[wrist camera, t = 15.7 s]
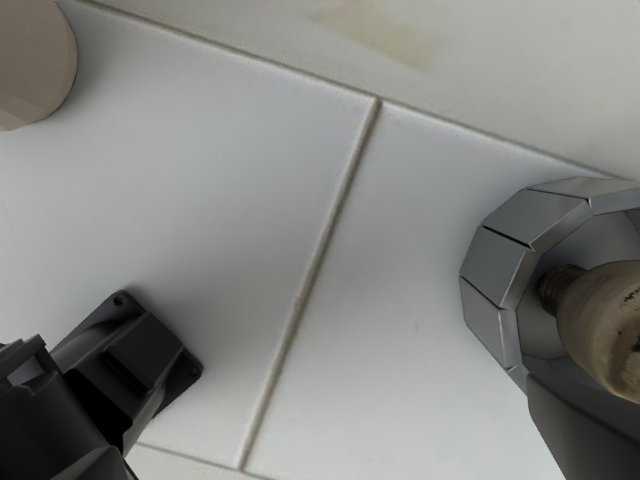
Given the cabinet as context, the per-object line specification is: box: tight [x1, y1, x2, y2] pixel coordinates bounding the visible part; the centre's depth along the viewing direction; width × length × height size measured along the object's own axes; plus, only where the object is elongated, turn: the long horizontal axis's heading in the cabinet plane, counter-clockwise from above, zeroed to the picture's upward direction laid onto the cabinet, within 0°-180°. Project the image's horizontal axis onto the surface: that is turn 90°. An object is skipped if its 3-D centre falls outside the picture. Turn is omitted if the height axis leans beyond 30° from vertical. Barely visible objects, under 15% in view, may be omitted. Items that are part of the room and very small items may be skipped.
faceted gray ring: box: [459, 177, 640, 396], centre depth 19 cm, size 11×11×5 cm
